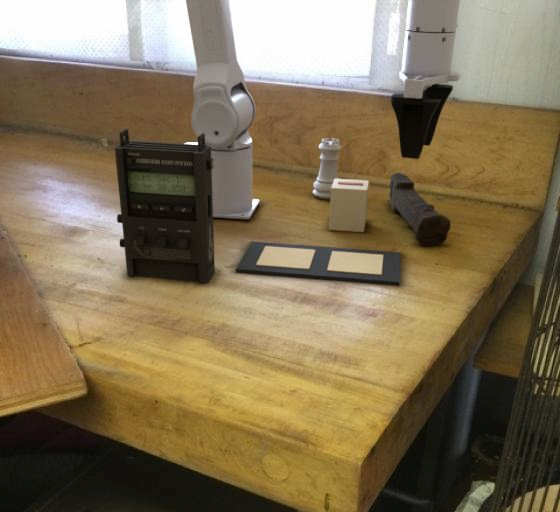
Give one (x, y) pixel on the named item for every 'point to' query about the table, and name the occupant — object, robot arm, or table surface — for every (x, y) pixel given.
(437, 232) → the hand tool
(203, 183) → the geiger counter
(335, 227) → the slotted ballot box
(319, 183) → the rook chess piece
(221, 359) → the table surface
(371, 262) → the word mat
